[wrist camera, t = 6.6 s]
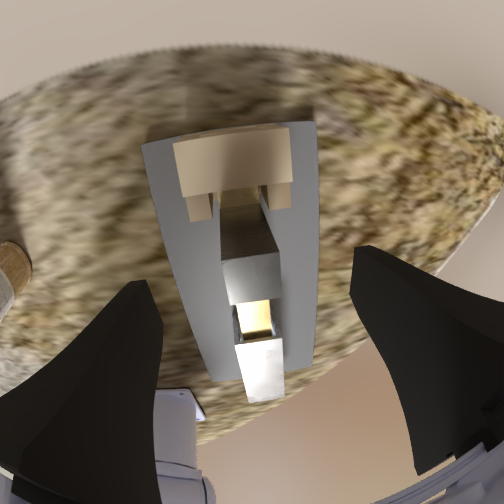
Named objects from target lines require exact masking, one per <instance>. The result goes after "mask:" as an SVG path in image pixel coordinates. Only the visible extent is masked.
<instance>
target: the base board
mask: <svg viewBox="0 0 504 504" xmlns="http://www.w3.org/2000/svg"><path fill="white" fill-rule="evenodd" d="M262 124H277V125H281V126H284V127H287V128H289V135H290V148H291V162H292V178H293V182H290V194H291V208H284V209H276V210H269V208H268V206H267V204H266V202H265V200H264V198H263V196H262V194H259V202H260V205H261V208H262V210H263V212H264V215H265V217H266V220H267V222H268V224H269V227H270V229H271V232H272V234H273V237H274V239H275V241H276V244H277V246H278V249H279V251H280V264H281V282H282V297H281V298H275V299H269V306H270V308H272V307H274V309H275V313H276V317H277V321H278V324H279V328H280V332H281V335H282V345H283V369H284V372H287V371H292V370H297V369H302V368H306V367H311V366H312V360H313V349H314V337H315V323H316V307H317V288H318V260H319V178H318V151H317V132H316V121H312V120H302V121H284V122H271V123H260V124H250V125H242V126H234V127H226V128H219V129H213V130H206V131H200V132H195V133H189V134H184V135H179V136H174V137H169V138H165V139H160V140H156V141H151V142H147V143H144V144H142V145H141V149H142V154H143V159H144V164H145V168H146V173H147V178H148V182H149V186H150V191H151V195H152V199H153V203H154V207H155V211H156V215H157V219H158V223H159V226H160V230H161V234H162V237H163V241H164V245H165V248H166V252H167V255H168V258H169V262H170V265H171V268H172V272H173V275H174V278H175V281H176V284H177V288H178V291H179V294H180V297H181V300H182V303H183V306H184V309H185V312H186V314H187V317H188V320H189V323H190V326H191V329H192V331H193V334H194V337H195V339H196V342H197V345H198V347H199V350H200V353H201V355H202V358H203V360H204V363H205V365H206V368H207V370H208V373H209V375H210V378H211V380H212V382H219V381H228V380H236V379H243V377H242V373H241V369H240V365H239V360H238V356H237V352H236V348H235V342H234V331H233V320H232V314H234V313H238V310H237V304H236V305H230V303H229V298H228V293H227V289H226V284H225V279H224V274H223V269H222V264H221V246H220V208H219V202H218V200H214V201H213V218H212V219H207V220H201V221H195V222H190V218H189V213H188V208H187V204H186V199H185V197H183V195H182V191H181V186H180V181H179V175H178V170H177V165H176V160H175V154H174V148H173V143H174V142H176V141H177V140H178V139H180V138H181V137H182V136H185V135H190V134H196V133H201V132H207V131H214V130H220V129H227V128H235V127H243V126H252V125H262Z"/></svg>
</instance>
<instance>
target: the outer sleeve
mask: <svg viewBox="0 0 504 504" xmlns="http://www.w3.org/2000/svg"><path fill="white" fill-rule="evenodd" d="M270 317H271V329H272V336H271V337H265V338H259V339H253V340H246V341H243V336H242V330H241V325H240V320H239V315H238V313H234V314H232V320H233V331H234V342H235V348H236V352H237V356H238V360H239V365H240V369H241V373H242V377H243V381H244V385H245V388H246V392H247V396H248V400H249V403H252V402H259V401H265V400H271V399H277V398H283V397H284V369H283V345H282V335H281V332H280V328H279V324H278V321H277V317H276V313H275V309H274V307H272V308H270Z"/></svg>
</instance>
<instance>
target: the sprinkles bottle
mask: <svg viewBox="0 0 504 504" xmlns="http://www.w3.org/2000/svg"><path fill="white" fill-rule="evenodd" d="M31 277H32V270H31V265H30V262H29V260H28V258H27V256H26V255H25V253H24V252H23V250H22V249H21V248H20V247H19V246H18V245H16V244H14V243H12V242H8V241H6V242H3V243H2V244H0V323H1V321H2V320H3V318H4V317H5V315H6V314H7V312H8V311H9V309H10V308H11V306H12V305H13V303H14V301H15V299H16V298H17V296H18V295H19V294H20V292H21V291H22V290H23V288H24V287H25V286H26V285H28V284H29V282H30V280H31Z"/></svg>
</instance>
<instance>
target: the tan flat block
mask: <svg viewBox="0 0 504 504" xmlns="http://www.w3.org/2000/svg"><path fill="white" fill-rule="evenodd" d="M217 196H218V202H219V208H220V246H221V264H222V269H223V274H224V279H225V284H226V289H227V293H228V298H229V303H230V305H236V304H237V310H238V315H239V320H240V325H241V330H242V336H243V341H246V340H253V339H259V338H265V337H271V336H272V329H271V317H270V306H269V299H275V298H281V297H282V282H281V264H280V251H279V249H278V246H277V244H276V241H275V239H274V237H273V234H272V232H271V229H270V227H269V224H268V222H267V220H266V217H265V215H264V212H263V210H262V208H261V205H260V202H259V192H258V186H253V187H246V188H239V189H232V190H225V191H219V192H217Z"/></svg>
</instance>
